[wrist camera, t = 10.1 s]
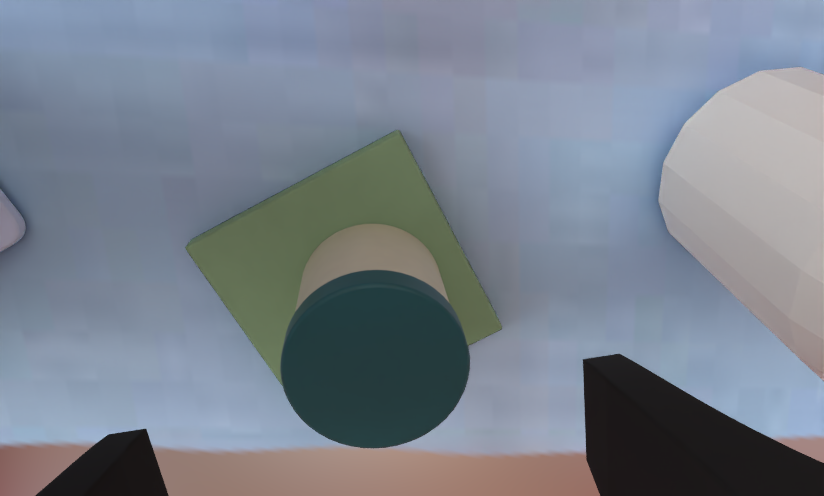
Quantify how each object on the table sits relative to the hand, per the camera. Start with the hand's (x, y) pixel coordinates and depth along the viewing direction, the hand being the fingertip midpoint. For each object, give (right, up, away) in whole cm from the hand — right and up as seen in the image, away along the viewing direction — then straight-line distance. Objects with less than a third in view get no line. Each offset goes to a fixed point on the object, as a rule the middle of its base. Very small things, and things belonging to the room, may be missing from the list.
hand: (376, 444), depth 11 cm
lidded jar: (0, +2, +6) cm, 6 cm away
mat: (-1, +2, +7) cm, 7 cm away
